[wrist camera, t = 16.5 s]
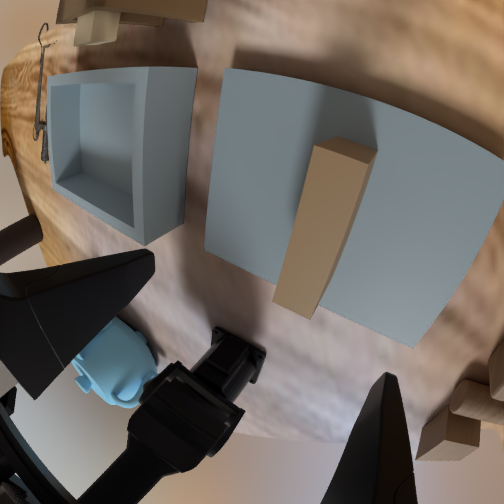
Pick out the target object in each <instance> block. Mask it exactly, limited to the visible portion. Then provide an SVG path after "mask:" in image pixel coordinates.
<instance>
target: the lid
mask: <svg viewBox="0 0 504 504" xmlns="http://www.w3.org/2000/svg"><path fill="white" fill-rule="evenodd" d="M503 200H504V161H503V160H502V159H500V158H499V157H497V156H495V155H494V154H492V153H490V152H489V151H487V150H485V149H484V148H482V147H480V146H478V145H476V144H475V143H473V142H471V141H469V140H467V139H465V138H463V137H462V136H460V135H458V134H456V133H454V132H452V131H450V130H448V129H446V128H443V127H441V126H439V125H437V124H435V123H433V122H430V121H428V120H426V119H424V118H421V117H419V116H417V115H414V114H412V113H409V112H407V111H404V110H402V109H399V108H396V107H394V106H391V105H388V104H386V103H383V102H380V101H377V100H374V99H371V98H368V97H365V96H362V95H358V94H355V93H352V92H348V91H345V90H341V89H338V88H334V87H330V86H327V85H323V84H318V83H314V82H310V81H306V80H301V79H296V78H291V77H286V76H281V75H275V74H269V73H263V72H256V71H249V70H241V69H232V68H225V70H224V77H223V83H222V90H221V97H220V104H219V111H218V118H217V126H216V133H215V141H214V150H213V158H212V167H211V176H210V185H209V195H208V206H207V216H206V228H205V240H204V250H205V251H207V252H209V253H211V254H213V255H215V256H217V257H219V258H221V259H223V260H225V261H227V262H229V263H231V264H233V265H235V266H237V267H240V268H242V269H244V270H246V271H248V272H250V273H252V274H254V275H256V276H258V277H260V278H262V279H264V280H266V281H268V282H271V283H273V284H275V285H277V286H276V290H275V293H274V297H273V300H272V302H274V303H276V304H278V305H280V306H282V307H284V308H286V309H288V310H291V311H293V312H295V313H297V314H299V315H301V316H303V317H305V318H307V319H309V320H310V319H311V317H312V315H313V313H314V311H315V310H316V308H317V306H318V305H319V306H321V307H323V308H325V309H327V310H330V311H332V312H334V313H336V314H338V315H340V316H343V317H345V318H347V319H349V320H351V321H353V322H355V323H358V324H360V325H362V326H364V327H366V328H369V329H371V330H373V331H375V332H377V333H380V334H382V335H384V336H386V337H388V338H391V339H393V340H395V341H397V342H400V343H402V344H404V345H406V346H408V347H411V348H413V347H414V346H415V345H416V344H417V343H418V341H419V340H420V339H421V338H422V336H423V335H424V334H425V332H426V331H427V330H428V328H429V327H430V326H431V324H432V323H433V322H434V320H435V319H436V318H437V316H438V315H439V314H440V312H441V311H442V309H443V308H444V306H445V305H446V304H447V302H448V301H449V299H450V298H451V296H452V295H453V293H454V292H455V290H456V288H457V287H458V285H459V284H460V282H461V281H462V279H463V277H464V276H465V274H466V272H467V271H468V269H469V267H470V266H471V264H472V262H473V260H474V259H475V257H476V255H477V253H478V251H479V250H480V248H481V246H482V244H483V242H484V240H485V238H486V236H487V234H488V232H489V230H490V228H491V226H492V224H493V222H494V220H495V218H496V216H497V214H498V211H499V209H500V207H501V205H502V202H503Z"/></svg>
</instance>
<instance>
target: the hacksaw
mask: <svg viewBox="0 0 504 504" xmlns="http://www.w3.org/2000/svg"><path fill="white" fill-rule="evenodd" d="M44 25H46V27H47V31H48V30H49V26H48V23H44V24H43V26H42V27H41V30H40V32H39V36H38V40H39V42H40V38H39V37H40V35H41V31H42V29H43V27H44ZM47 31H46V32H47ZM56 42H57V40H56ZM40 44H41V42H40ZM54 44H55V43H54ZM50 45H51V44H49V45H46V47H45V46H43V53H42V52H41V58H42V59H40V64H41V67H40V75H39V85H38V92H37V102H36V103H37V105H36V117H35V125H34V126H35V129H36V139H35V138H34V135H33V138H34V140H35V141H37V139H38V134H39V131H40V129H43V130H44V131H43V142H42V152H41V160H42V161H44V163H46V161H47V160H48V161H49V156H48V131H47V106H46V124H43V123H40V124H39V116H40V97H41V83H42V71H43V59H44V51H45V48H47V47H49V46H50ZM41 48H42V44H41ZM52 76H53V74H52ZM42 121H43V120H42ZM33 130H34V128H33Z"/></svg>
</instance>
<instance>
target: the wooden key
mask: <svg viewBox="0 0 504 504" xmlns="http://www.w3.org/2000/svg"><path fill="white" fill-rule="evenodd" d="M120 14H121V12H115V11H95V10H94V11H92V12H89V13H87V14H84V15H82V16H80V17H78V19H77V25H76V32H75V39H74V46H84V45H99V44H104V43H109V42H114V41H116V39H117V32H118V26H119V20H120Z"/></svg>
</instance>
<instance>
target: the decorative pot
mask: <svg viewBox="0 0 504 504" xmlns="http://www.w3.org/2000/svg"><path fill="white" fill-rule="evenodd" d="M146 343H147V340H146V338H145V337H144V336H143V335H142V334H141V333H140V332H139V331H136V332H134V331H133V330H132V329H131V328H130V327H129V326H128V325H126V324H125V323H124V322H123V321H121V320H120V319H119V318H118V317H117V316H116V317H115V318H114V319H112V320H111V321H110V322H109V323H108V324H107V325H106V326H105V327H104V328H103V329H102V330H101V331H100V332H99V333H98V334H97V335H96V336H95V337H94V338H93V340H92V341H91V342H90V343H89V344H88V345H87V346H86V347H85V348H84V349H83V350H82V351H81V352H80V353H79V354H78V355H77V356H76V357H75V358H74V359H73V360H72V361H71V362H72V364H73V365H74V367H75V369H76V370H77V372H78V373H79V374H80V376H79V377H76V378H75V381H76V383H77V384H78V385H79V387H80V388H81V389H82V390H83V391H84V392H85V393H88V392H89V391H90V388H92V389H93V390H94V391H95V392H96V393H97V394H98V395H99V396H100V397H101V398H102V399H103V400H104V401H106V402H107V403H109V404H111V405H115V404H117V405H119V406H121V407H124V408H133V407H135V406H137V405H138V404H139V402H138V401H139V398H140V397H141V394H142V393H143V385H144V384H145V383H146V382H147V381H149V380H150V379H152V378H153V377H155V376H157V375H158V373H157V369H156V365H155V361H154V359H153V356H152V354H151V352H150V350H149V348H148V347H147V345H146Z"/></svg>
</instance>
